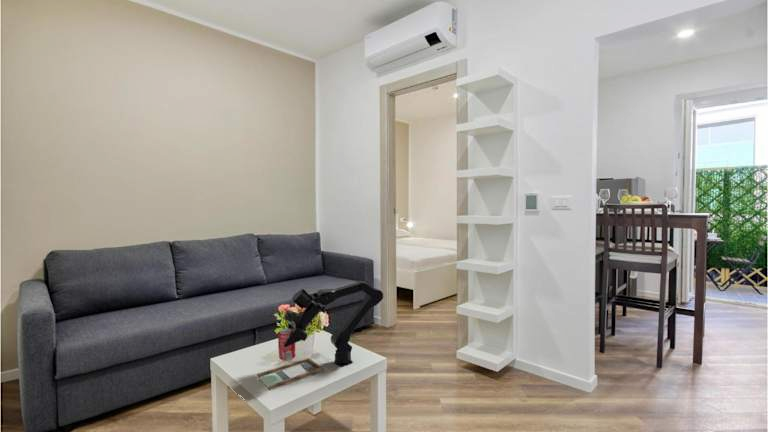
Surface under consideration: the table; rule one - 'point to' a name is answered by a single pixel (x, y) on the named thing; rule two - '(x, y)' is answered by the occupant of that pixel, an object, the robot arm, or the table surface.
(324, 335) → the table surface
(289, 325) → the robot arm
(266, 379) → the pad
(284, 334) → the soda can
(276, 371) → the trap lane
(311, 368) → the trap strips
